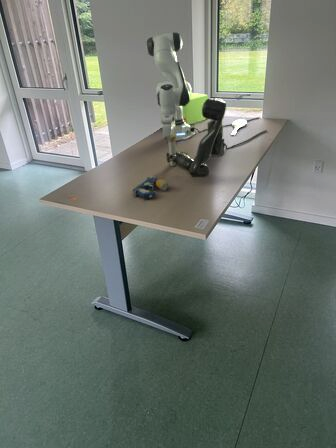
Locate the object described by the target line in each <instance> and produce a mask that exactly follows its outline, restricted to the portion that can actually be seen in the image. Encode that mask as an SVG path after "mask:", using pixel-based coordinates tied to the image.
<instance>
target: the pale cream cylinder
mask: <svg viewBox="0 0 336 448" xmlns="http://www.w3.org/2000/svg"><path fill="white" fill-rule="evenodd" d="M176 152H177V144H176V141H171V143H168V153H169V154H171V155H172V154H174V155H176ZM169 165H170V166H171V167H174V166H177V165H176V163H175V162H173V161H170V162H169Z"/></svg>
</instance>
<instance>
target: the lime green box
mask: <svg viewBox="0 0 336 448" xmlns="http://www.w3.org/2000/svg"><path fill="white" fill-rule="evenodd" d="M206 99H209V94H203V93H202V94H201V93H195V92H193V91H191V94H190V102H189V103H188V104H187V105H186V106H182V112H183V118H184V117H185V118H187V120H184V121H185V123H186V124H188V125H189V126H191V125H192V124H196V123H199V122H202V121H205V120H207V119H206V118H204V117H203V116H202V107H203V104H204V102H205V100H206Z"/></svg>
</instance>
